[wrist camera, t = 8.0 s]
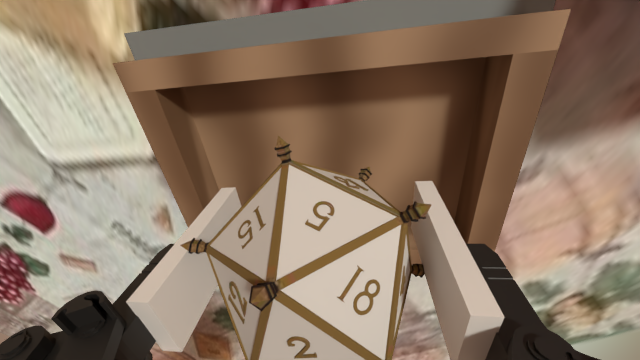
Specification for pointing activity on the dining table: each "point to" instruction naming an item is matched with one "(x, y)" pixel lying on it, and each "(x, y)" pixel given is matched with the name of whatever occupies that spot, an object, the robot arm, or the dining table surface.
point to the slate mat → (320, 24)
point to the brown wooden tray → (357, 113)
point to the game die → (314, 266)
